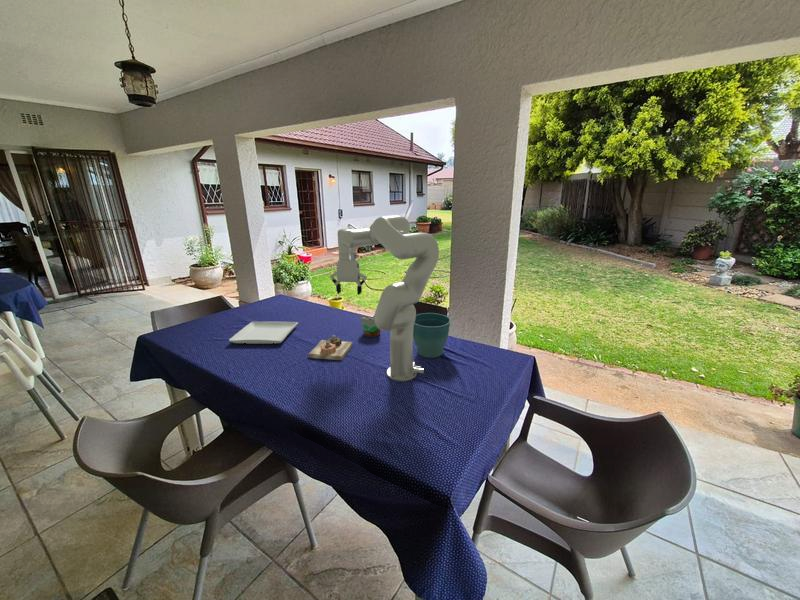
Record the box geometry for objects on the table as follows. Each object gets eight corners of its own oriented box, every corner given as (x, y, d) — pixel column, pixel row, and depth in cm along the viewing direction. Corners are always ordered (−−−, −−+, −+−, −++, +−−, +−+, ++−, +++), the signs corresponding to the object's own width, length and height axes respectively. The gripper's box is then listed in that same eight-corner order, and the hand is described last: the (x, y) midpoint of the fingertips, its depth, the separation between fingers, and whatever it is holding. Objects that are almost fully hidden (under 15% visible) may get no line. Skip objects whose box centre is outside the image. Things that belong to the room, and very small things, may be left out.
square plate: (282, 347, 168) (281, 340, 167) (228, 347, 169) (227, 339, 168) (299, 327, 194) (298, 320, 193) (252, 327, 195) (251, 320, 194)
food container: (356, 335, 181) (355, 317, 178) (363, 331, 186) (362, 314, 183) (376, 339, 175) (375, 321, 173) (382, 335, 181) (381, 318, 178)
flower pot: (447, 363, 150) (449, 327, 145) (408, 359, 153) (408, 325, 148) (450, 346, 167) (451, 314, 162) (414, 343, 170) (414, 311, 165)
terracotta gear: (338, 348, 161) (338, 343, 160) (333, 354, 154) (332, 350, 153) (324, 347, 162) (323, 342, 161) (318, 353, 155) (317, 349, 155)
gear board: (352, 345, 168) (352, 333, 167) (341, 360, 153) (341, 347, 151) (322, 343, 171) (321, 331, 169) (308, 357, 156) (307, 344, 154)
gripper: (368, 256, 153) (369, 292, 158) (332, 255, 156) (334, 290, 161) (363, 258, 146) (365, 296, 151) (325, 257, 149) (328, 294, 154)
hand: (349, 293), depth 156 cm, fingers open, 9 cm apart
